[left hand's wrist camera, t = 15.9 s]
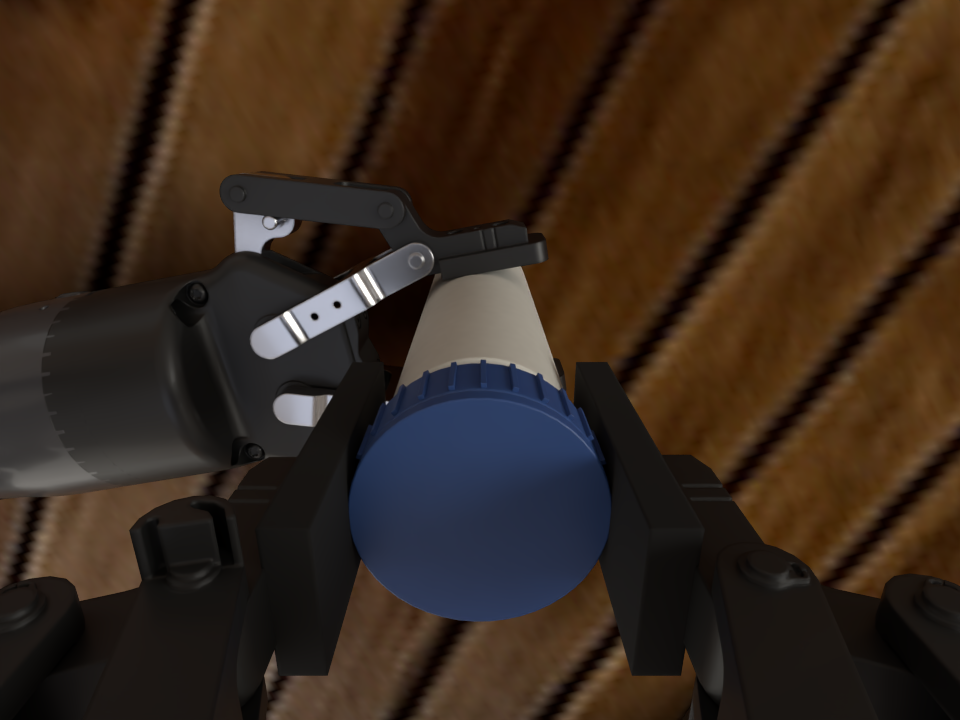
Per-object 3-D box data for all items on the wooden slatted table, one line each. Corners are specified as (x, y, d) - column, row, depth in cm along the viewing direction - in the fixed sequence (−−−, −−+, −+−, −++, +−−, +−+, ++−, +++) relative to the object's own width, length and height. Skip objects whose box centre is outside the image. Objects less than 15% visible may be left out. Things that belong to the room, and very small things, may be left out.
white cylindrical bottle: (428, 322, 28) (359, 562, 12) (440, 233, 26) (380, 370, 10) (516, 336, 28) (564, 588, 12) (533, 248, 27) (613, 404, 11)
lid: (636, 399, 11) (662, 441, 10) (549, 587, 13) (559, 650, 11) (397, 326, 11) (382, 356, 9) (337, 532, 13) (316, 589, 11)
